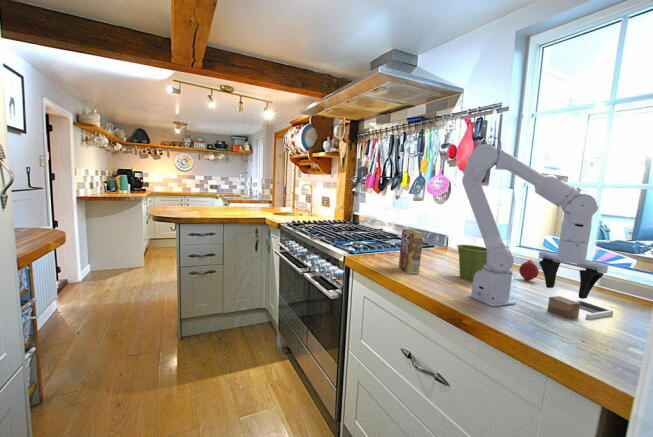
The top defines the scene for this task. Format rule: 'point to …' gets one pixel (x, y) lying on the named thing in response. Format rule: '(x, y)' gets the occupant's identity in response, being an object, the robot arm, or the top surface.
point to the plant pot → (471, 260)
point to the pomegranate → (528, 270)
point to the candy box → (410, 251)
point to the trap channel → (594, 310)
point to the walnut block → (563, 307)
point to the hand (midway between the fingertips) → (565, 292)
